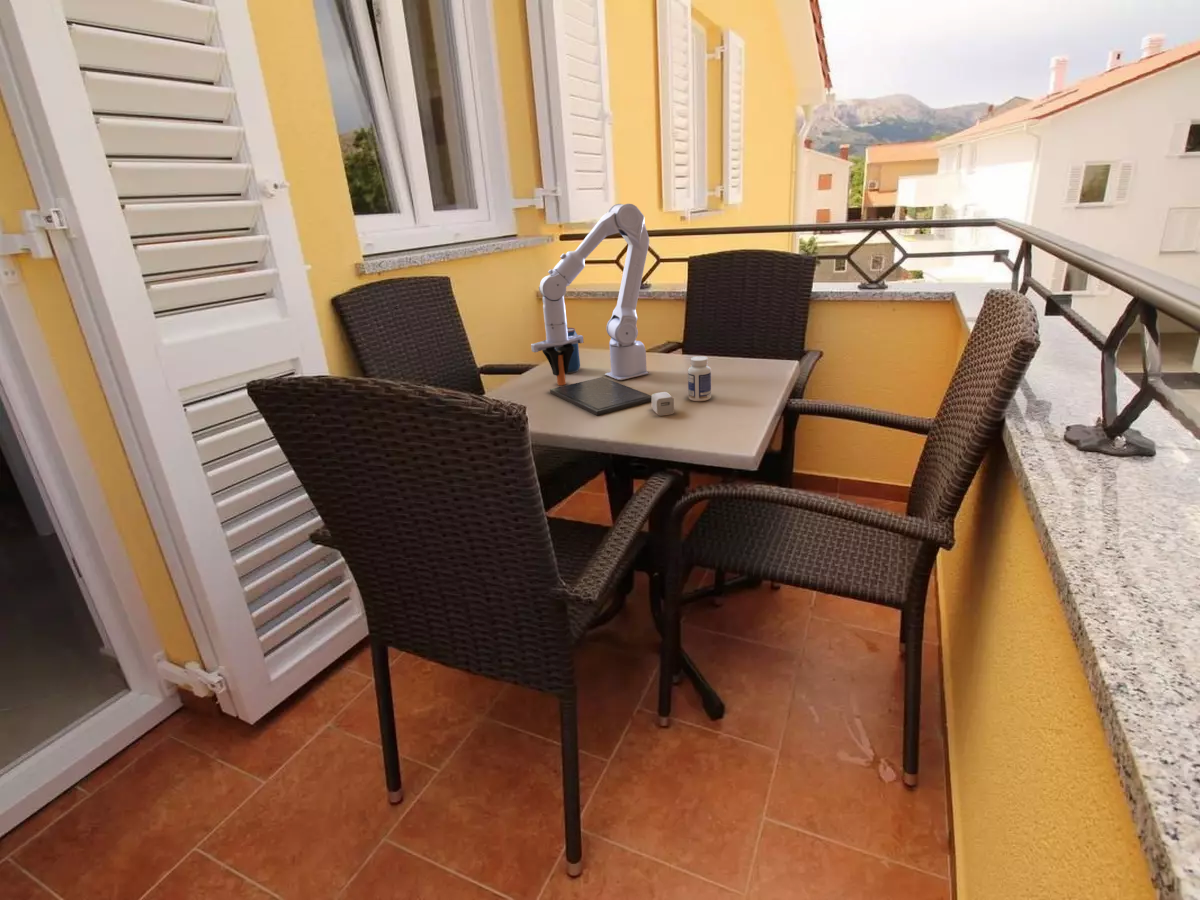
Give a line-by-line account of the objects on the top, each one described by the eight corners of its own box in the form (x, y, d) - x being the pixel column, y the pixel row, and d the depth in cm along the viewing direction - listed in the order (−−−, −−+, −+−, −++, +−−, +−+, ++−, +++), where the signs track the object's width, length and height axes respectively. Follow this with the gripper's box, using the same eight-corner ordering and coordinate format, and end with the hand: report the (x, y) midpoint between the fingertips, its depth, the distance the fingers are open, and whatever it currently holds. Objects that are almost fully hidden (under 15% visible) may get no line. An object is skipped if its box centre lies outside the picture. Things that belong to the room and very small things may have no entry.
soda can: (585, 368, 182) (581, 327, 178) (571, 374, 177) (567, 332, 173) (565, 366, 186) (561, 326, 181) (551, 372, 181) (547, 331, 176)
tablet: (602, 380, 169) (602, 376, 169) (654, 400, 150) (654, 396, 150) (550, 392, 162) (549, 388, 162) (597, 415, 143) (596, 411, 142)
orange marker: (563, 382, 170) (560, 350, 167) (567, 384, 169) (564, 351, 165) (555, 384, 169) (552, 351, 166) (559, 386, 168) (556, 353, 164)
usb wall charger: (657, 416, 140) (656, 399, 138) (648, 407, 146) (648, 390, 144) (674, 413, 140) (673, 396, 139) (665, 404, 147) (664, 388, 145)
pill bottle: (712, 395, 151) (712, 355, 147) (709, 402, 146) (708, 361, 142) (690, 394, 152) (690, 355, 149) (686, 401, 148) (685, 361, 144)
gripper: (572, 317, 169) (577, 365, 174) (524, 325, 163) (529, 376, 168) (585, 320, 164) (589, 370, 169) (535, 329, 157) (541, 381, 162)
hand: (560, 373), depth 168 cm, fingers closed on orange marker, 2 cm apart
